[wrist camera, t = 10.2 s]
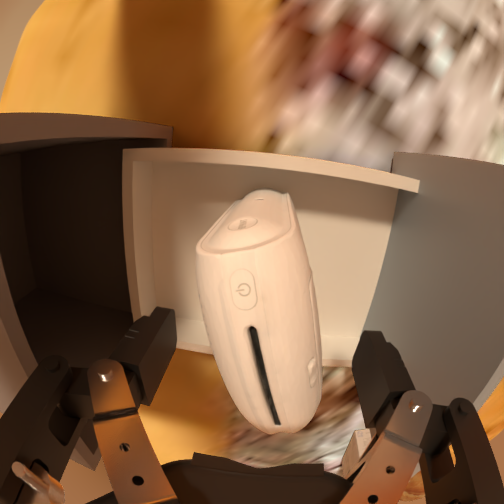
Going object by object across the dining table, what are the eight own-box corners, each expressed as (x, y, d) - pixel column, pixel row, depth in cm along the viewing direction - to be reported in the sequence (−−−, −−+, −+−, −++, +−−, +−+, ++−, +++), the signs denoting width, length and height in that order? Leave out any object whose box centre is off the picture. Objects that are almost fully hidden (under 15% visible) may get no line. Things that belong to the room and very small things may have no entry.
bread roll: (400, 467, 36) (406, 496, 29) (448, 456, 36) (456, 481, 29) (378, 484, 40) (382, 511, 32) (425, 475, 39) (431, 498, 32)
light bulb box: (377, 454, 34) (386, 504, 23) (340, 460, 34) (344, 512, 24) (396, 422, 30) (412, 481, 20) (352, 429, 31) (362, 493, 20)
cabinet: (22, 144, 20) (-101, 173, 5) (172, 126, 19) (-26, 114, 4) (38, 289, 27) (-49, 364, 11) (173, 322, 26) (94, 471, 10)
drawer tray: (155, 126, 19) (-19, 121, 5) (404, 154, 18) (572, 187, 4) (158, 323, 26) (82, 451, 11) (357, 346, 24) (395, 490, 10)
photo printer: (229, 191, 19) (151, 260, 7) (291, 180, 18) (315, 234, 6) (257, 319, 22) (238, 455, 11) (310, 311, 21) (328, 450, 10)
